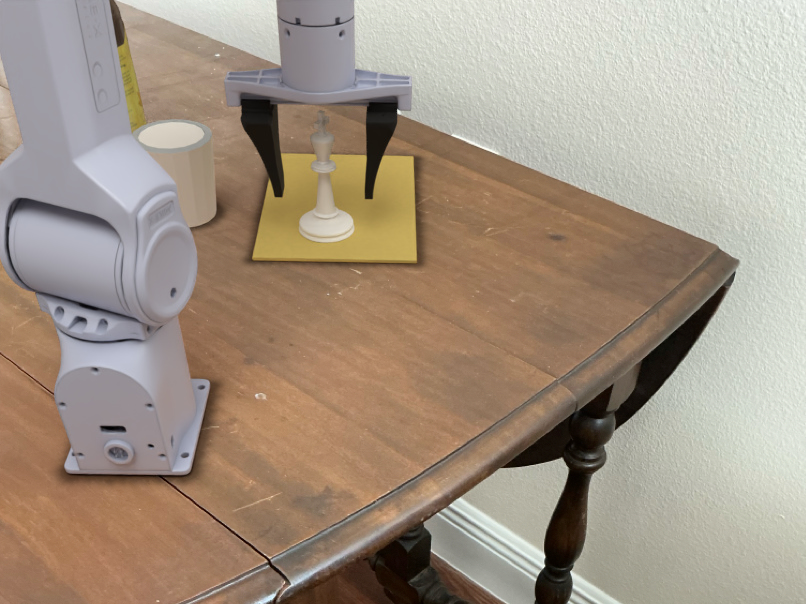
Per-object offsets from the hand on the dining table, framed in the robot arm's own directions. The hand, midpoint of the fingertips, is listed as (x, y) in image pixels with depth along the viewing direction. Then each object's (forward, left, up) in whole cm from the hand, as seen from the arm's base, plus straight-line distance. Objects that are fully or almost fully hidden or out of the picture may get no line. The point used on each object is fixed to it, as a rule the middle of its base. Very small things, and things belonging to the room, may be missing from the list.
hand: (324, 193), depth 72 cm
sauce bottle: (+13, +21, -4) cm, 25 cm away
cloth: (+5, -1, -4) cm, 6 cm away
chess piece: (0, 0, -3) cm, 4 cm away
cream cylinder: (+3, +13, -4) cm, 14 cm away
